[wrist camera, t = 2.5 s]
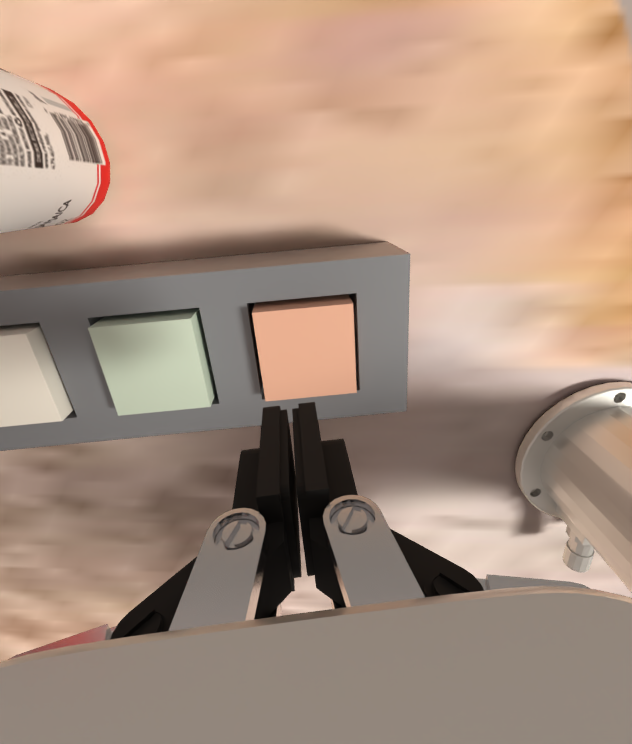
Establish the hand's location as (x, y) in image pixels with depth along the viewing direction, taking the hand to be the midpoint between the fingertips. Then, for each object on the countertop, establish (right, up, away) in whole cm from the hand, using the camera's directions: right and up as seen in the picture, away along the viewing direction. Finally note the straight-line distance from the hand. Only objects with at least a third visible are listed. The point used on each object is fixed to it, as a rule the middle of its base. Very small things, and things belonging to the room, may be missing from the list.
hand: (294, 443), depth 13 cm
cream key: (-16, +3, +10) cm, 19 cm away
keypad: (-8, +5, +13) cm, 16 cm away
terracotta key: (0, +4, +10) cm, 11 cm away
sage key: (-8, +3, +10) cm, 13 cm away
